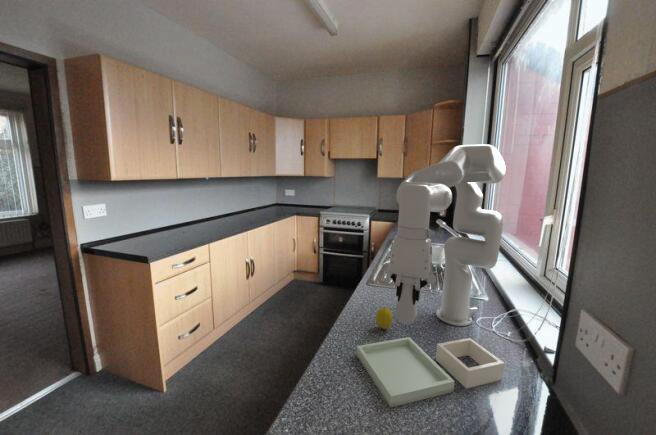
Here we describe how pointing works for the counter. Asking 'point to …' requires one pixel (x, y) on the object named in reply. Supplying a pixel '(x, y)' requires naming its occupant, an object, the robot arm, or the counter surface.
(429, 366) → the tray
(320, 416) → the counter surface
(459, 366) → the square frame
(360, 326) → the counter surface
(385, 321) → the lemon
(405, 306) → the salt shaker
